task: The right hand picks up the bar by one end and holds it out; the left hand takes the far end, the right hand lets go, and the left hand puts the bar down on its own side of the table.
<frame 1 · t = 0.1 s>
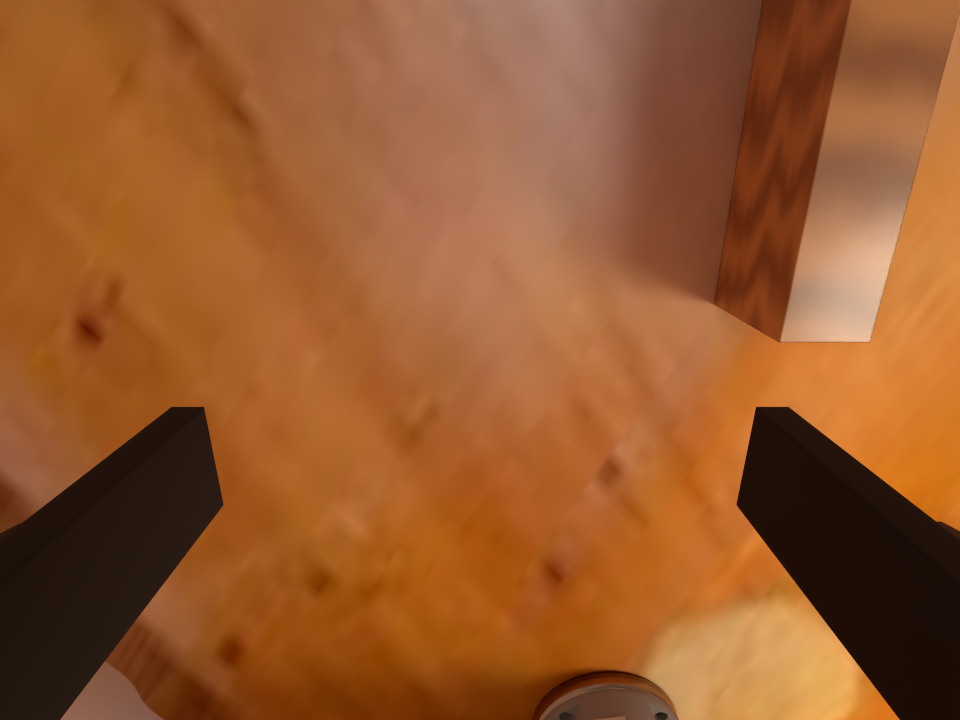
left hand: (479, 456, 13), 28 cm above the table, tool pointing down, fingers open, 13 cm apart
bar: (786, 102, 35), on the table
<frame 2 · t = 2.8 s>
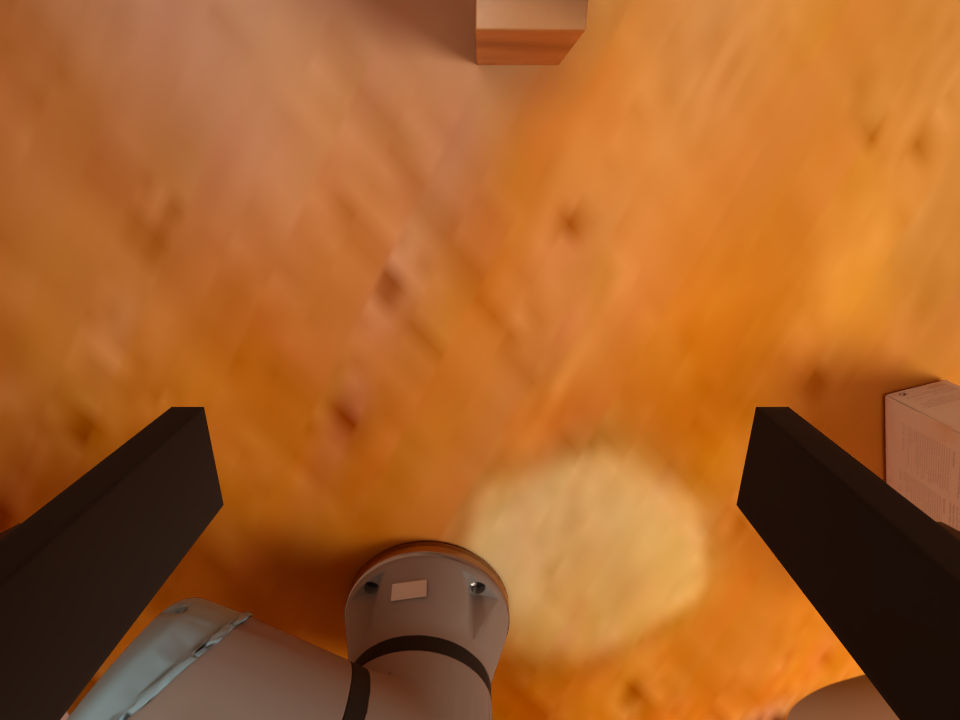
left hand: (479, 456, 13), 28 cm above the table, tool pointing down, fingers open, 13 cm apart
skincare box: (914, 489, 46), on the table
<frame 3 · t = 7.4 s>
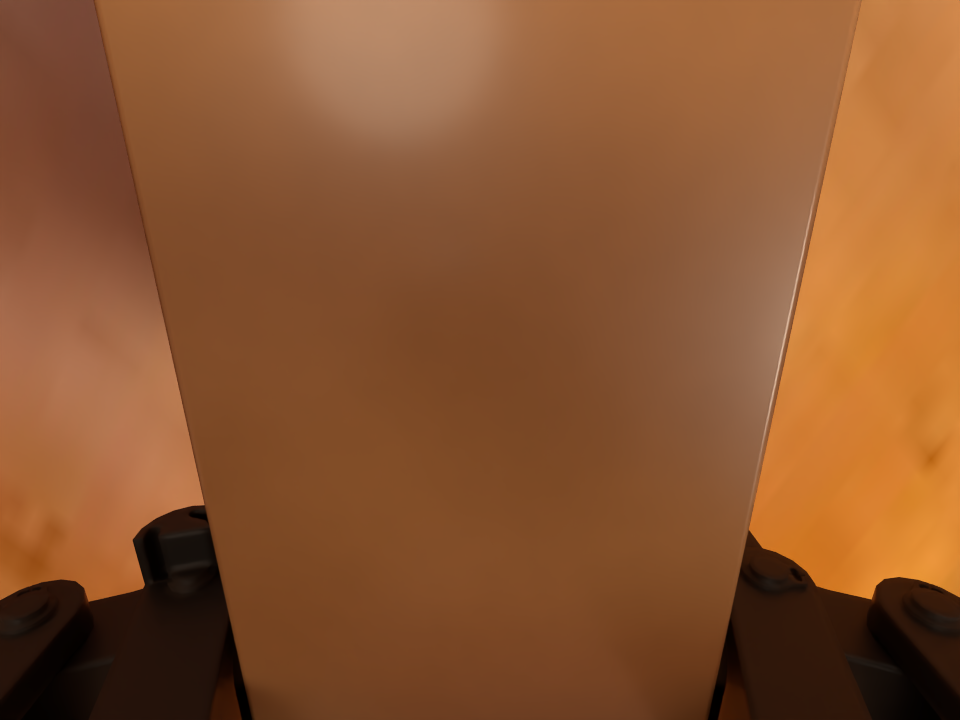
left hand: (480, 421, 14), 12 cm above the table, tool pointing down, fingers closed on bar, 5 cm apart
when the right hand's fingers open (12 cm above the table, at t = 8.0 s): bar stays where it is, held by the left hand.
when the left hand's fingers open (2 cm above the table, at t = 11.6 s): bar stays where it is, on the table.
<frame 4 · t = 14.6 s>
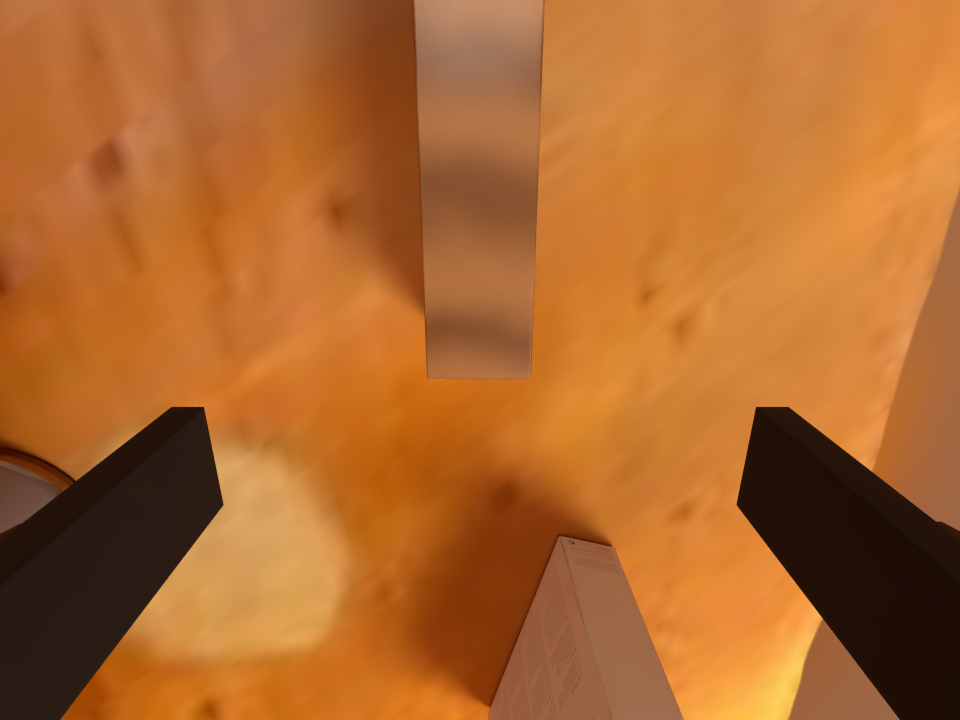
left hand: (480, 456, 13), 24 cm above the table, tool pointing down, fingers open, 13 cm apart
skincare box: (550, 632, 46), on the table
bar: (479, 105, 31), on the table
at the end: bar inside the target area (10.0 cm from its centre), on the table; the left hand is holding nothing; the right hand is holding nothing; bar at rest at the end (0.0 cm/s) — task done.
